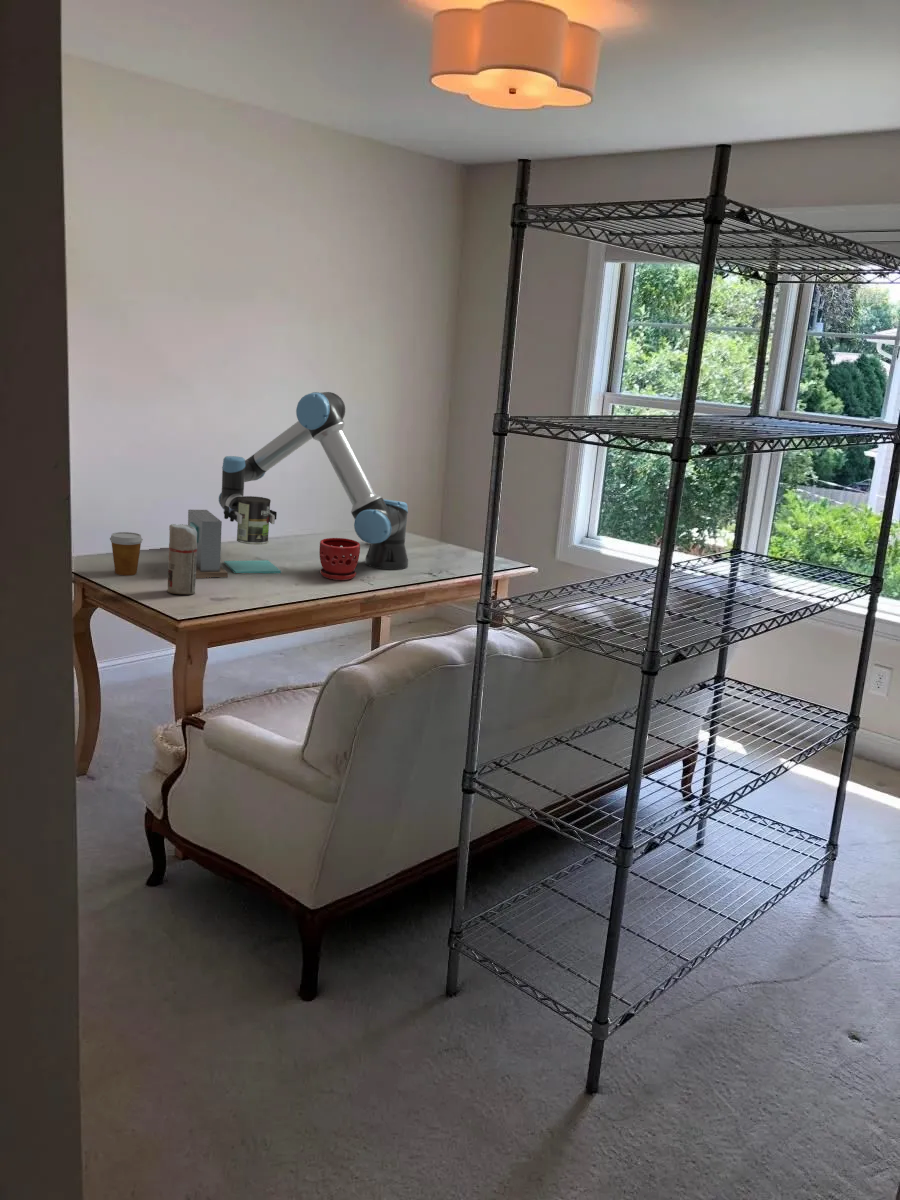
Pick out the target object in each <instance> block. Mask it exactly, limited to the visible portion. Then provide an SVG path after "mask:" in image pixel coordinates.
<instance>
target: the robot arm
mask: <svg viewBox="0 0 900 1200" xmlns="http://www.w3.org/2000/svg"><path fill="white" fill-rule="evenodd" d="M295 408H296V409H295V414H296V418H297V419H296V420H297V421H296V422H295V423H294V424H292V425H291V426H290V427H288V428H287V429H286V430H284V431H283V432H282V433H280V434H278V436H276V437H275V438H273V439H272V440H271V441H270V442H268V443H266V444H265V445H264V446H263V447H261V448H260V449H258V450H257V451H256V452H255V453H253V454H252V455H251V456H250V457H248V458H247V459H245V458H244V457H242V456H239V455H238V456H236V455H235V456H234V455H228V456H227V455H226V456H224V458H223V460H222V461H223V462H222V467H221V469H222V473H221V491H220V494H219V495H218V503H219V505H220V507H221V508H222V510H223V516H224V517H223V519H225V520H227V519H230V520H229V522H234V521H235V522H236V523H237V524H238V523H239V524H242V515H241V514H239V513H238V504H239V500H238V498H239V497H243V496H244V491H245V483H248V482H252V481H254V482H255V481H258V480H260V479H262V478H263V477H264V476H265V474H266V472H268V471H269V470H270V469H272V468H273V467H274V466H276V465H277V464H278V463H280V462H281V461H283V460H284V459H285V458H287V457H288V456H290V455H291V454H293V453H294V452H295V451H297V450H298V449H300V448H301V447H302V446H304V445H305V444H306V443H308V442H309V441H310V440H312V439H313V440H315V441H317V442H319V443H320V444H321V446H322V449H323V450H324V453H325V455H326V456H327V458H328V460H329V463H330V464H331V466H332V468H333V470H334V472H335V474H336V476H337V477H338V480H339V482H340V484H341V486H342V487H343V489H344V490H343V491H345V493H346V496H347V497H348V499H349V501H350V504H351V506H352V507H351V511H350V513H351V516H352V517H353V520H354V523H353V528H354V531H355V533H356V536H358V538H359V539H360V540H362V541H363V542H365V543H367V544H370V545H369V548H368V550H367V553H366V555H365V561H364V563H365V565H366V566H368V567H372V568H376V569H381V570H382V569H384V570H403V569H406V568H408V567H409V558H408V553H407V549H406V535H407V534H406V532H407V521H408V514H409V511H408V509H409V508H408V507H409V506H408V503H407V502H404V501H399V500H392V499H384V498H383V496H382V495H380V494H379V495H378V494H376V492H375V491H374V489H373V486H372V484H371V483H370V481H369V479H368V477H367V475H366V473H365V471H364V469H363V467H362V465H361V463H360V461H359V460H358V459H359V458H357V455H356V453H355V452H354V449H353V447H352V445H351V444H350V442H349V440H348V438H347V436H346V433H345V431H344V426H345V422H344V420H343V419H344V417H345V416H346V406H345V402H344V400H343V398H342V397H340V395H338V394H336V393H335V392H330V391H326V392H318V391H316V392H315V391H314V392H311V393H307V394H305V395H304V396H302V397H301V398H300V400H299V401H298V402H297V405H296V407H295ZM276 520H277V511H275V510H273V509H270V515H269V524H271V525H275V521H276Z"/></svg>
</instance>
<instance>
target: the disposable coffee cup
mask: <svg viewBox="0 0 900 1200" xmlns="http://www.w3.org/2000/svg"><path fill="white" fill-rule="evenodd" d="M109 541H110V542H111V550H112V556H113V558H112V560H113V564H114V566H113V567H114V573H115V574H116V575H119V576H126V577H127V576H134V575H136V574H137V573H138V565H139V560H140V551H141V547H142V545H141V544H142V542H143V538H142V534H140V533H138V532H130V531H122V532H121V531H119V532H114V533H111V535H110V537H109Z"/></svg>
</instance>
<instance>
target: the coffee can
mask: <svg viewBox="0 0 900 1200" xmlns="http://www.w3.org/2000/svg"><path fill="white" fill-rule="evenodd" d="M238 500H239V504H238V513H239V514H241V515H242V524H239V523H238V522H237V529H236V530H237V531H236V533H237V534H236V542H237V543H240V544H244V545H245V544H246V545H266V544H268V543H269V530H270V529H269V527H270V522H269V515H270V510H271V502H272V501H271V499H270V498H267V497H263V496H251V495H250V496H249V495H247V496H246V495H245V496H244V495H243V497H239V498H238Z"/></svg>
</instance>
